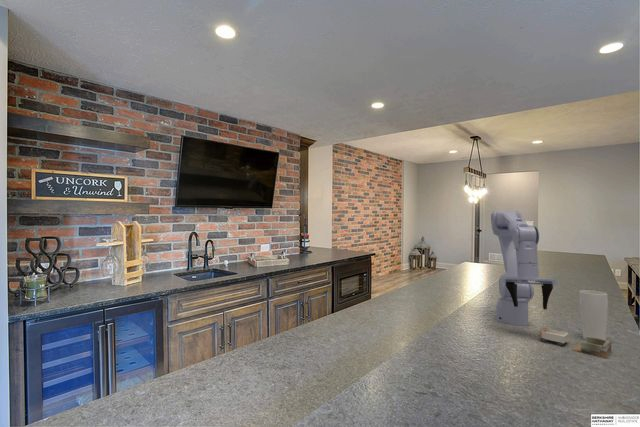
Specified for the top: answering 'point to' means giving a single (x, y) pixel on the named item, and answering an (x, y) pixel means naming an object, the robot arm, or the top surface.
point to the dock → (594, 347)
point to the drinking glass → (593, 313)
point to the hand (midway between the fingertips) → (530, 307)
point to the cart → (554, 336)
